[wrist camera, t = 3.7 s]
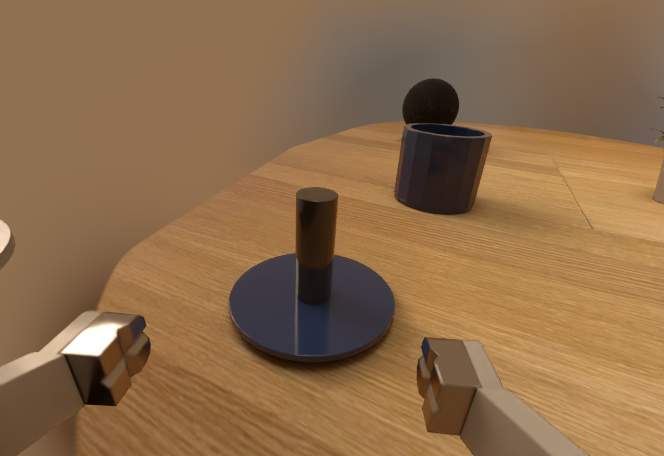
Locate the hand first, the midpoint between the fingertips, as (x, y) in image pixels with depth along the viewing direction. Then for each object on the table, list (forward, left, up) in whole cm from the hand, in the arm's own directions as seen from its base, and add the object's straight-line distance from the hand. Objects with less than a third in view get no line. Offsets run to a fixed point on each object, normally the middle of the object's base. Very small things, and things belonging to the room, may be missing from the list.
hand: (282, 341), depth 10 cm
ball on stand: (-4, +81, -8) cm, 82 cm away
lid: (-4, +11, -8) cm, 14 cm away
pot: (+2, +39, -8) cm, 40 cm away
